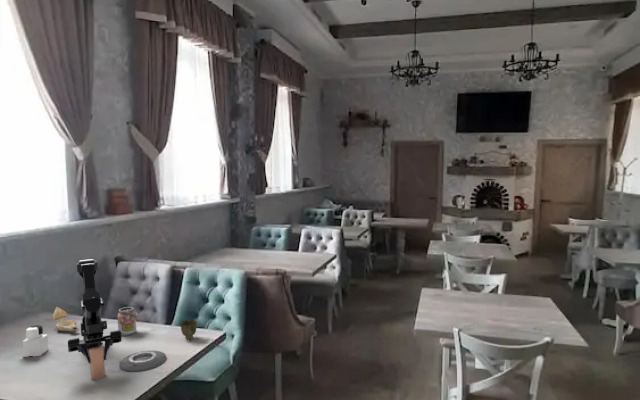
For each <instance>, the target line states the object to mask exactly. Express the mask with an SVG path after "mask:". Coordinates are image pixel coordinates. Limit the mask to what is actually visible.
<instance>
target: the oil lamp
mask: <svg viewBox="0 0 640 400" xmlns="http://www.w3.org/2000/svg"><path fill="white" fill-rule="evenodd" d="M67 317H69V315H68V312H66V311H65V310H63V309H62V308H60V307H58V306H56V307H55V309H54V311H53V315H52V320H53V321H57V320H58V323H56V324H55V327H56V329H57V330H58V331H60V332H72V333H76V332H77V331H78V330H79V326H77V325H76V324H77V322H76V320H75V319H68V320H65V318H67Z"/></svg>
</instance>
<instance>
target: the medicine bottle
mask: <svg viewBox="0 0 640 400" xmlns="http://www.w3.org/2000/svg"><path fill="white" fill-rule="evenodd" d="M25 335H26V338H25V339H24V340H22V341H21V342H22V343H21V344H22V357H23V358H27V357H29V356H33V357H41V356H42V355H44V354H45V353H46V352H48V351H49V337H48V336H49V335H48V334H47V333H46V334H44V329H43V326H42V325H40V324H37V325H31V326H28V327H27V328H26V330H25Z"/></svg>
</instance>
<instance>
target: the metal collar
mask: <svg viewBox="0 0 640 400" xmlns="http://www.w3.org/2000/svg"><path fill="white" fill-rule="evenodd" d="M145 351H146V352H142V351H139V352H140V353H137V352H136V353H137V354H134V353H133V354H134V355H132V356H131V357H129V364H131V365H138V366H139V365H145V364H148V363H151V362H153V361H154V360H155V359H156V353H154V352H147V351H148V350H145ZM140 356H152V357H151V358H150V359H148V360H144V361H134V359H135V358H137V357H140Z"/></svg>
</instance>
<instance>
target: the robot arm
mask: <svg viewBox="0 0 640 400" xmlns="http://www.w3.org/2000/svg"><path fill="white" fill-rule="evenodd" d="M97 270H99V266H98V260H95V259H94V258H90V259H82V260H81V259H80V260H79V262H76V272H77V273H78V275H79V277H80V278H81V279H82V282H83V285H82V286H83V294H82V300H80V305H81V306H80V307H81V311H83V312H84V314H83V316H82V318H81V322H80V334H81V337H82V338H83V339H80V337H75V338H70V339H68V340H67V349H68V350H67V352H68V353H73V352H78V353H81V354H82V355H83V356H84V358H85V360H86V361H87V363H88V364H90V358H89V349H91V348H93V347H97V346H102V345H104V346H103V347H104V361H106V359H107V355H108V351H109V349H110V348H111V346H113V345H114V344H118V343H121V342H122V337H123V336H122V334H121V331H120V330H118V329H117V330H112V331H110V332H109V334H108V335H104V331H105V330H107V329H108V324H107V323H108V322H107V320H102V315H101V314H102V308H103V307H104V306H105V301H104V300H103V298H102V297H100V292H99V291H98V290H97V289H96V283H95V276H96V273H97Z"/></svg>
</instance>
